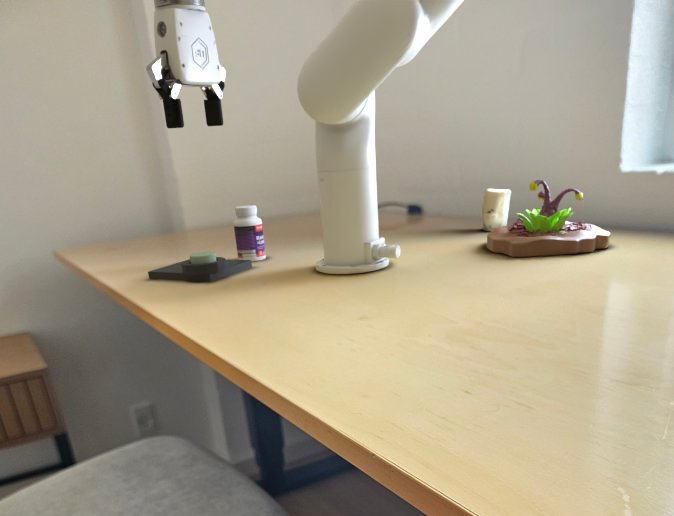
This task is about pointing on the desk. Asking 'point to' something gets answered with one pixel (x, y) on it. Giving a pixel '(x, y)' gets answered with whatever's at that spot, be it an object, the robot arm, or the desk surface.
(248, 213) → the pill bottle
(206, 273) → the scale
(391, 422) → the desk surface
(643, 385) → the desk surface
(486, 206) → the white speckled cylinder
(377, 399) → the desk surface
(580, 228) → the plant
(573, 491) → the desk surface
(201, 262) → the tare button
